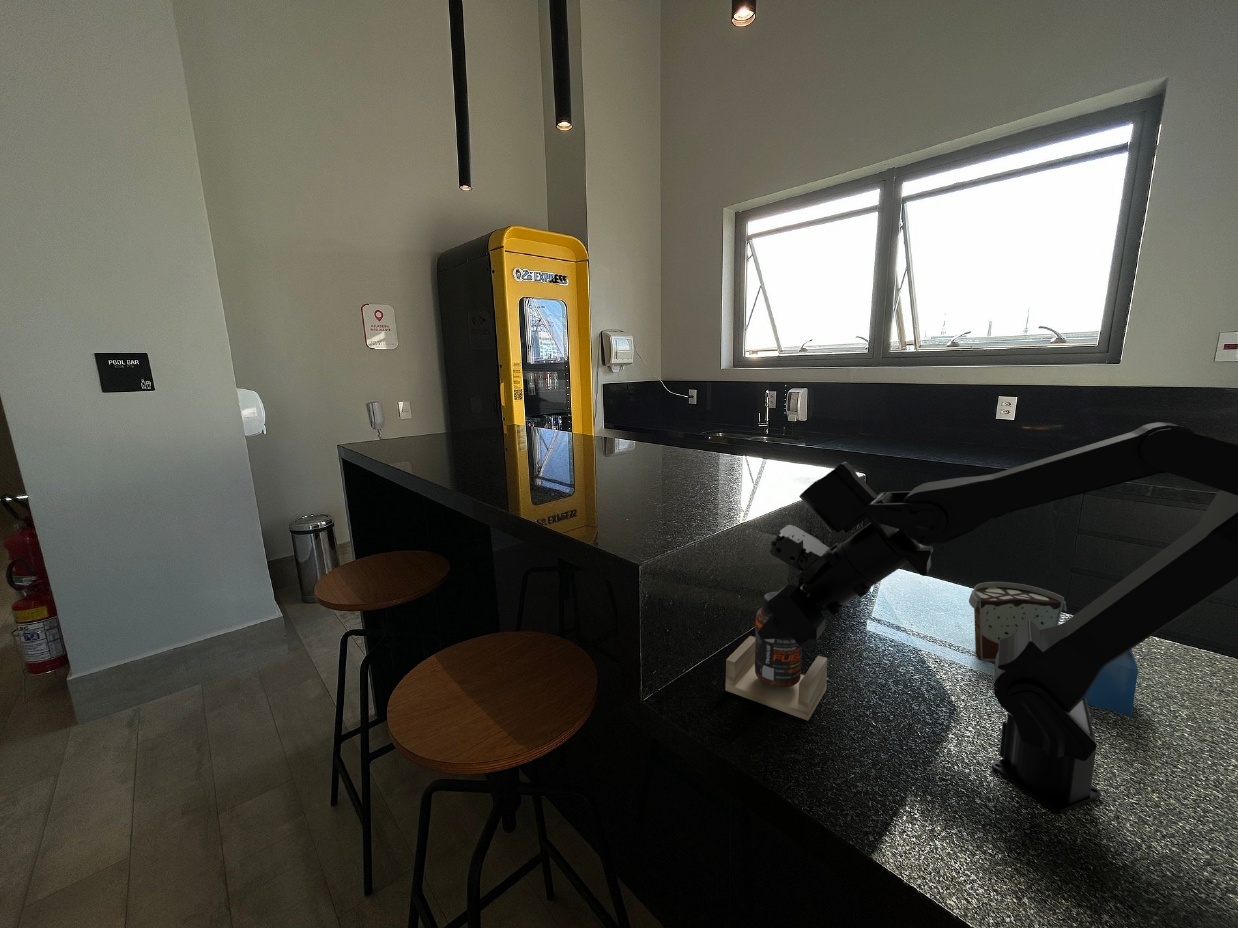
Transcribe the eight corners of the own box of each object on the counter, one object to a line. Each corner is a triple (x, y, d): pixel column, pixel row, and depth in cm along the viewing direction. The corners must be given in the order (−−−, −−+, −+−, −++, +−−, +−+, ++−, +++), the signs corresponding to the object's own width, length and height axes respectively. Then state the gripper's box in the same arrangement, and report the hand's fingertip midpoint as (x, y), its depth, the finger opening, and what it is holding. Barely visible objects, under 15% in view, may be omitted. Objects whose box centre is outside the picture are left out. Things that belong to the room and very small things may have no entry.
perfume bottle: (1062, 676, 71) (1072, 594, 69) (1125, 692, 67) (1137, 606, 65) (1064, 697, 66) (1074, 610, 64) (1131, 716, 62) (1144, 624, 60)
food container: (1031, 641, 80) (1037, 580, 79) (1060, 662, 74) (1068, 597, 73) (948, 639, 81) (952, 579, 80) (970, 659, 75) (975, 595, 74)
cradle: (826, 689, 69) (827, 658, 68) (808, 720, 63) (809, 686, 62) (749, 664, 76) (749, 635, 75) (725, 690, 69) (725, 659, 69)
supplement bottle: (774, 694, 65) (775, 610, 63) (745, 671, 70) (746, 593, 69) (811, 683, 67) (813, 601, 65) (780, 661, 73) (781, 585, 71)
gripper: (832, 495, 70) (755, 558, 78) (786, 527, 56) (697, 600, 64) (894, 560, 67) (806, 619, 75) (862, 612, 52) (757, 678, 60)
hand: (768, 626), depth 69 cm, fingers closed on supplement bottle, 6 cm apart
